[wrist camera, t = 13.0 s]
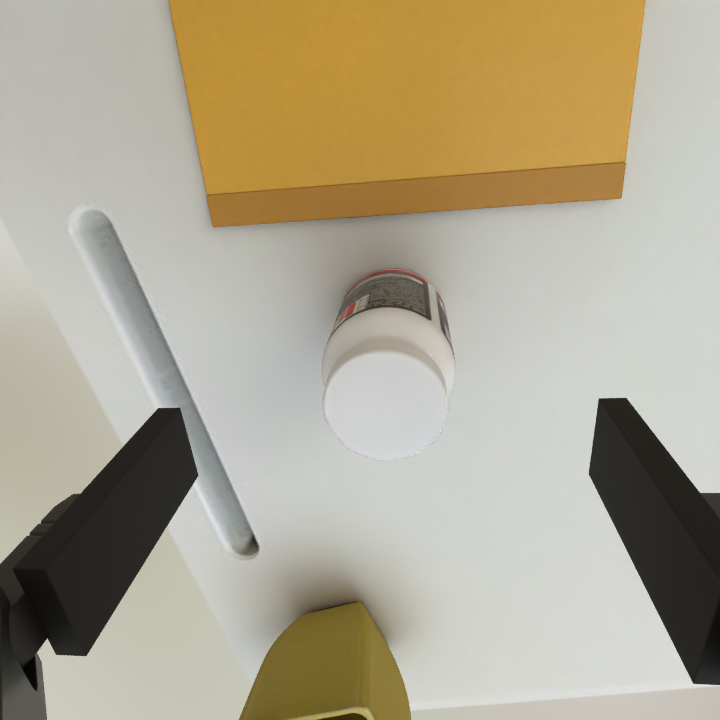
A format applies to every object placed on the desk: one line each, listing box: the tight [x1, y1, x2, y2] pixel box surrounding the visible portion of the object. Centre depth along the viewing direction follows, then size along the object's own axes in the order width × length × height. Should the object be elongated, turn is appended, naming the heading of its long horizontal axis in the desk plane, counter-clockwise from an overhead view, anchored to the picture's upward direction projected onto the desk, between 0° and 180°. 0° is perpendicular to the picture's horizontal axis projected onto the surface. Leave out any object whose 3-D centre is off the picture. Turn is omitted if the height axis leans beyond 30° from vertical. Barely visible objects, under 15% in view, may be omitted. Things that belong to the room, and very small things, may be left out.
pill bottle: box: [322, 269, 455, 460], centre depth 23 cm, size 6×6×10 cm
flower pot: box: [239, 602, 411, 720], centre depth 34 cm, size 9×9×9 cm
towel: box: [168, 0, 645, 227], centre depth 22 cm, size 15×20×1 cm
